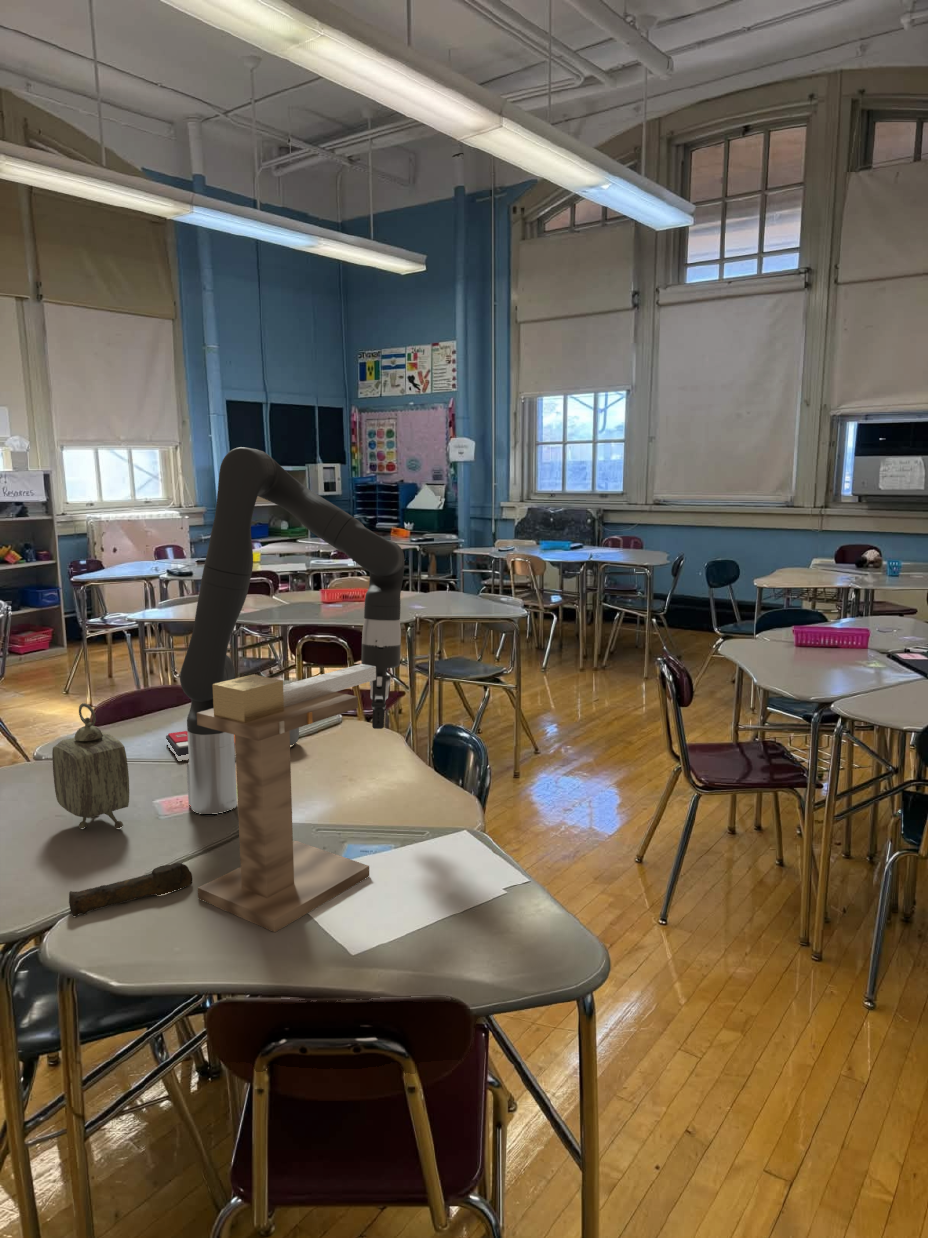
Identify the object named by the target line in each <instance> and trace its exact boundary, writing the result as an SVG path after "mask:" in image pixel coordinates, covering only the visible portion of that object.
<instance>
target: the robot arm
mask: <svg viewBox="0 0 928 1238" xmlns="http://www.w3.org/2000/svg"><path fill="white" fill-rule="evenodd" d="M217 482H218V484H217V493H216V505H215V514H214V519H213V523H212V528H211V533H210V538H209V542H208V543H209V544H208V547H207V553H206V557H205V560H204V565H203V570H202V575H201V581H200V588H199V593H198V598H197V603H196V604H197V605H196V608H195V609H196V610H195V616H194V623H193V624H194V625H193V629H192V633H191V637H190V641H189V643H188V647H187V650H186V653H185V657H184V660H183V662H182V665H181V668H180V673H179V683H180V686H181V690H182V691H183V693H184V694H185V695H186V696H187V697H188V698H189V699H190V700H191V702H190V709H189V712H188V714H187V718H186V731H187V733H188V751H189V760H188V763H186V780H187V796H188V797H187V798H188V799H187V801H188V805H189V804H190V805H191V807H190V809H191V811H192V810H194V811H195V812H198V813H201V814H212V813H219V812H224V811H227V810H230V809H232V808H234V809H236V807H238V794H237V771H236V748H235V735H234V734H230V733H226V732H222V731H218V730H214V729H210V728H207V727H203V726H199V725H197V713H198V712H201V711H205V710H209V709H212V708H214V706H213V684H216V683H220V682H224V681H228V680H232V679H236V670H235V666H234V664H233V663H234V662H233V661H232V659H231V658H230V656H228V654H227V653H228V647H229V642H230V638H231V634H232V632H233V631H234V628H235V625H236V623H237V621H238V618H239V617H240V615H241V612H242V609H243V608H244V604H245V602H246V599H247V595H248V592H249V588H250V582H251V580H252V579H251V578H252V574H253V568H254V553H253V552H254V550H253V549H254V548H253V544H252V543H253V541H252V532H251V531H252V528H251V527H252V520H253V515H254V511H255V507H256V502H257V499H258V497H259V498H261V499H264V500H266V501H267V502H268V501H269V502H270V503H272V504H274V505H277V506H278V507H280V508H282V509H283V510H285V511H286V512H288V513H290V515H292V516H293V517H294V518H295V519H296V520H298V521H299V522H300V524H302V525H303V526H304V527H305V528H306V529H307V530H308V531H309V532H311V533H312V534H313V535H314V536H316V537H318V538H319V539H321V540H322V541H324V542H325V543H327V544H328V545H330V546H331V547H333V548H334V549H335V550H337V551H339V552H341V553H344V554H345V555H346V556H347V557H349V558H350V559H351V560H352V561H354V562H355V563H356V564H358V565H359V566H360V567H361V568H363V569H364V570H366V571H367V572H369V583H368V584H369V585H368V589H367V591H366V593H365V595H364V596H365V598H364V608H363V609H364V610H363V611H364V612H363V614H364V615H363V617H364V619H363V625H362V633H361V634H362V635H361V637H362V638H361V662H360V664H365V665H371V666H376V680H373V681H370V682H369V686H370V691H369V692H370V693H369V695H370V698H369V699H371V701H372V702H371V704H370V705H371V709H372V721H371V722H372V723H371V724H372V726H371V727H372V729H375V730H376V729H377V730H382V729H384V727H385V715H386V714H385V713H386V712H385V711H386V707H387V704H386V700H387V699H388V698H389V689H390V685H391V675H389V674H387V673H388V669H394V668H398V667H399V666H400V663H401V640H402V639H401V637H402V630H401V593H402V587H403V579H404V572H405V554H404V551H403V549H402V547H401V546H400V545H399V544H398V543H396V542H394V541H392V540H387V539H386V538H384V537H382V536H380V535H378V534H377V533H375V532H374V531H372V530H370V529H369V528H367V527H365V525H364V524H363V523H362V522H361V521H360V520H359V519H357V518H355V517H354V516H352V515H351V514H349V513H348V512H346V511H345V510H343V509H342V508H340V507H339V506H338V505H335V504H333V503H332V502H330V501H329V500H327V499H325V498H323V496H320V495H319V494H317V493H316V492H314V491H313V490H311V489H310V488H308V487H307V486H305V484H303V483H301V482H300V481H299V480H298V479H296V478H295V477H293V476H292V475H291V474H290V473H288V471H287V470H286V469H284V467H282V466H281V465H280V464H279V463H278V462H277V461H276V460H275V459H274V458H273V457H272V456H270V455H269V454H268V453H267V452H265V451H263V450H260V449H258V448H257V449H256V448H251V447H244V446H243V447H242V446H240V447H236V448H233V449H231V450H230V451H227V453H226V454H225V456H224V457H223V459H222V461H221V463H220V468H219V473H218V481H217Z"/></svg>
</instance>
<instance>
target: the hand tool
mask: <svg viewBox="0 0 928 1238" xmlns="http://www.w3.org/2000/svg"><path fill="white" fill-rule="evenodd" d="M192 884H193V874H192V871H191V870H190V869H189V867H188V866H187V865H186V864H184V863H180V862H174V863H171V864H166V865H160V866H157V867H155V868H153V869H152V871H151V873H148V874H145V875H142V876H136V877H133V878H129V879H128V878H127V879H125V880H122V881H121V880H120V881H117V882H114V883H110V884H106V885H105V884H104V885H103V884H102V885H100V886H99V885H98V886H96V887H92V888H86V889H83V890H79V891H71V890H70V891H69V892H68V905H69V909H70V913H71V915H73V916H76V917H78V916H79V915H84V914H86V915H87V913H88V912H92V911H97V910H98V909H102V908H106V907H109V906H113V905H117V904H122V903H125V902H129V901H133V900H137V899H140V898H144V897H147V896H157V895H161V894H165V893H168V892H172V891H174V890H178V889H180V888H183V887H185V886H187V887H189V886H191V885H192ZM185 888H186V887H185ZM183 889H184V888H183ZM178 891H179V890H178ZM155 894H157V895H155ZM78 914H79V915H78ZM73 916H72V917H73Z"/></svg>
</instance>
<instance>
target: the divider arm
mask: <svg viewBox="0 0 928 1238" xmlns="http://www.w3.org/2000/svg"><path fill="white" fill-rule="evenodd" d="M373 680H376V666H371V665H365V664H361V663H360V664H356V665H352V666H349V667H345V668H342V669H338V670H333V671H330V672H326V673H323V674H319V675H315V676H310V677H308V678H304V679H300V680H297V681H293V682H289V683H286V684H284V680H282V679H277V678H273V677H268V676H262V675H257V674H253V673H252V674H250V675H246V676H241V677H235V679H232V680H228V681H224V682H220V683H216V684H213V706H214V716H217V717H222V718H226V719H230V720H234V721H238V722H242V723H247V722H250V721H253V720H257V719H260V718H263V717H267V716H270V715H273V714H276V713H280V712H283V711H284V707H286V706H290V705H293V704H296V703H300V702H303V701H306V700H310V699H313V698H316V697H320V696H323V695H326V694H330V693H333V692H339V691H343V690H346V689H350V688H352V687H356V686H359V685H362V684H366V683H370V681H373Z"/></svg>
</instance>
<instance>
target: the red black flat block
mask: <svg viewBox="0 0 928 1238" xmlns="http://www.w3.org/2000/svg"><path fill="white" fill-rule="evenodd" d="M165 739H167V740H168V742H169V743H170V745H171V746H172V748H173V749H174V751H175V752H176V754H177V755H178V756H181V755H186V754H189V751H188V733H187V730H183V731H176V732H169V733H167V734H166V735H165Z"/></svg>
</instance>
